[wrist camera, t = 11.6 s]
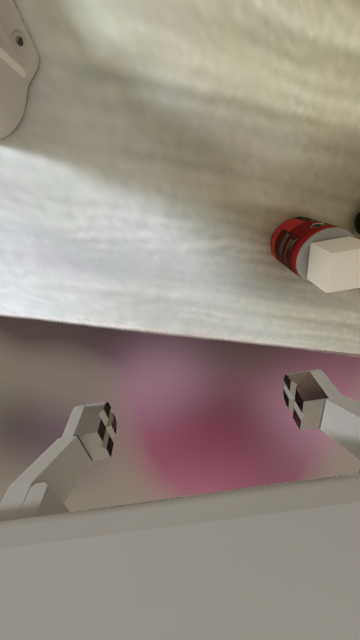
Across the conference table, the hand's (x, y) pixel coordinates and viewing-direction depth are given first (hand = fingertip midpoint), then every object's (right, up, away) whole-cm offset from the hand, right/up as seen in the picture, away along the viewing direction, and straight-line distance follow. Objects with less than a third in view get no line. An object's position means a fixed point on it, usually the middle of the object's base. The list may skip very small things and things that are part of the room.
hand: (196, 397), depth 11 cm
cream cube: (+19, +12, +22) cm, 32 cm away
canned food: (+19, +18, +32) cm, 41 cm away
